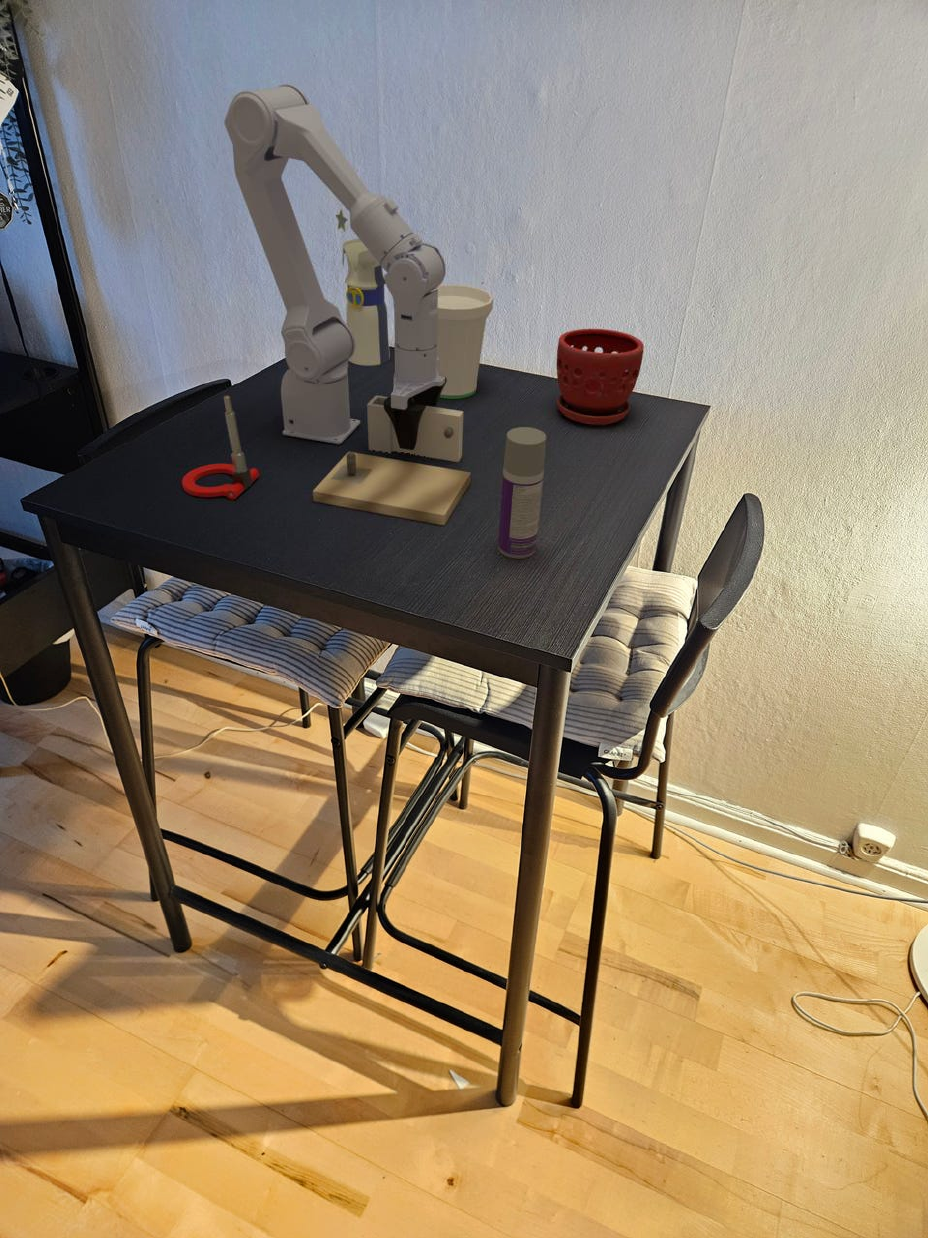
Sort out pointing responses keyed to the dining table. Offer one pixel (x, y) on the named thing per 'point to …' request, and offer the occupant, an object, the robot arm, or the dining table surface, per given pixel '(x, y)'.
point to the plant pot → (597, 374)
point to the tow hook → (224, 467)
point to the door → (434, 432)
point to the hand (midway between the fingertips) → (416, 436)
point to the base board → (393, 488)
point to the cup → (461, 336)
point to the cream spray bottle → (365, 303)
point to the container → (521, 492)
